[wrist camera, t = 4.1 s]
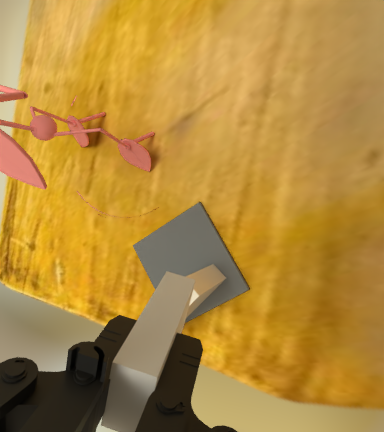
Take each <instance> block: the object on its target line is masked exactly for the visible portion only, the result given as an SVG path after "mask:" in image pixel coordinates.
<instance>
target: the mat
mask: <svg viewBox="0 0 384 432" xmlns="http://www.w3.org/2000/svg"><path fill="white" fill-rule="evenodd" d="M133 247H134V249H135V251H136V253H137V255H138V257H139V259H140V261H141V263H142V264H143V266H144V268H145V270H146V272H147V274H148V276H149V278H150V280H151V282H152V284H153V286H154V288H155V290H156V288H157V287H158V285H159V283H160V282H161V280H162V278H163V277H164V275H165V273H166V271H168V272H171V273H174V274H178V275H181V276H185V277H186V276H188V275H190V274H192V273H195V272H197V271H199V270H201V269H203V268H206V267H208V266H210V265H212V264H214V265H215V266H216V267H217V268H218V269H219V270H220V272H221V273H222V274H223V275H224V276H225V277H226V279H225V280H224V281H223V282H222V283H221V284H220V285H219V286H218V287H217V288H216V289H215V290H214V291H213V292H212V293H211V294H210V295H209V296H208V297H207V298H206V299H205V300H204V301H203V302H202V303H201V304H200V305H199V306H198V307H197V308H196V309H195V310H194V311H193V312H192V313H191V314H190V315H189V316H188V317H187V318H186V320H185V323H186V322H188V321H190V320H192V319H193V318H195V317H197V316H199V315H201V314H203V313H205V312H207V311H209V310H211V309H213V308H215V307H217V306H219V305H220V304H222V303H224V302H226V301H228V300H230V299H232V298H234V297H236V296H238V295H240V294H242V293H244V292H245V291H247V290H249V289H250V288H249V286H248V285H247V283H246V281H245V279H244V278H243V276H242V274H241V272H240V270H239V269H238V267H237V265H236V263H235V262H234V260H233V258H232V256H231V255H230V253H229V251H228V249H227V248H226V246H225V244H224V242H223V240H222V239H221V237H220V235H219V233H218V232H217V230H216V228H215V226H214V225H213V223H212V221H211V219H210V218H209V216H208V214H207V212H206V210H205V209H204V207H203V205H202V203H201V202H199V203H197V204H196V205H194V206H193V207H191V208H190V209H188V210H187V211H185V212H183V213H182V214H180V215H179V216H177V217H176V218H174V219H173V220H171V221H170V222H168V223H167V224H165V225H164V226H162V227H161V228H159V229H158V230H156V231H154V232H153V233H151V234H150V235H148V236H147V237H145V238H144V239H142V240H141V241H139V242H138V243H136V244H135V245H133Z"/></svg>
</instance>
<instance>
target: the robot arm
mask: <svg viewBox="0 0 384 432" xmlns="http://www.w3.org/2000/svg"><path fill="white" fill-rule="evenodd" d="M195 281H196V280H195V279H191V278H188V277H185V276H181V275H178V274H174V273H171V272H168V271H166V273H165V275H164V277H163V278H162V280H161V282H160V283H159V285H158V287H157V288H156V290H155V292H154V293H153V295H152V297H151V298H150V300H149V302H148V303H147V305H146V307H145V308H144V310H143V312H142V313H141V315H140V317H139V318H138V320H134V319H130V318H127V317H124V316H121V315H119V316H117V317H115V318H113V319H112V320H110V321H109V322H108V324H107V325H106V326H105V328H104V330H103V331H102V332H101V333H100V335H99V337H97V339H96V340H95V342H80V343H78V344H75V345H73V346H72V347H71V348H70V349H69V350H68V357H67V366H66V370H65V371H61V372H42V371H38V367H37V365H36V364H35V363H34V362H33V361H32V360H29V359H27V358H18V357H17V358H12V359H8V360H6V361H4V362H2V363H0V432H96V427H97V425H98V424H99V422H100V420H101V418H102V423H101V425H102V426H105V427H107V428H110V429H113V430H115V431H118V432H237V431H236V430H234V429H233V428H230V427H227V426H215V427H213V428H212V429H211V428H209V427H208V426H207V425H205V424H204V423H203V422H202V421H200V420H199V419H198V418H197V416H196V415H195V414H194V412H193V409H192V406H191V396H192V392H193V388H194V384H195V380H196V376H197V372H198V368H199V364H200V360H201V356H202V352H203V348H202V345H201V341H200V340H199V339H196V338H193V337H190V336H187V335H183V334H181V333H182V330H183V327H184V324H185V320H186V316H187V312H188V308H189V304H190V300H191V297H192V293H193V289H194V285H195ZM102 416H103V417H102Z"/></svg>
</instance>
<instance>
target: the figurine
mask: <svg viewBox="0 0 384 432" xmlns="http://www.w3.org/2000/svg"><path fill="white" fill-rule="evenodd" d="M0 92H4V93H5V94H0V102H4V101H10V100H17V99H23V98H24V99H25V98H27V97H28V94H26V93H25V92H23V91H19V90H16V89H12V88H9V87H6V86H2V85H0ZM76 97H77V96H76ZM76 97H75V99H76ZM75 99H74V100H75ZM73 102H74V101H73ZM72 104H73V103H72ZM71 106H72V105H71ZM30 110H31V113H32V116H33V119H32V121H31V123H30V126H25V125H21V124H17V123H13V122H8V121H4V120H0V125H4V126H9V127H14V128H20V129H25V130H31V132H32V134H33V135H34V136H35V137H36V138H38V139H40V140H45V141H46V140H50V139H52V138H53V137H54V136H62V135H71V134H73V136H74V137H75V139H76V140H77V142H78V143H79V144H80V146H81V147H85V146H87V145H88V144H89V138H88V135H87V133H89V132H98V131H100V132H102V133H103V134H105V135H107V136H108V137H110V138H111V139H113V140H115V141H116V142H118V143H119V144H118V148H119V151H120V153H121V155H122V156H123V158H124V159H125V160H126V161H128V162H129V163H131V164H132V165H134V166H136V167H139V168H141V169H143V170H146V171H149V172H150V168H151V157H150V154H149V152H148V151H147V150H146V149H145V148H144V147H143V146H141V145H140V144H138V142H140V141H142V140H144V139H147V138H149V137H151V136H153V135H154V132H150V133H148V134H146V135H143V136H141V137H139V138H137V139H134V140H130V139H125V138H124V140H122V139H121V140H118V139H117V138H115V137H114V136H112V135H111V134H109V133H108V132H107V131H105V130H104V129H101V128H96V129H86V130H85V129H84V127H83V125H82V124H81V123H84V122H87V121H90V120H93V119H96V118H99V117H102V116H105V112H102V113H99V114H96V115H93V116H89V117H86V118H83V119H80V120H77V119H75V117H74V116H68V119H67V120H65V119H63V118H60V117H58V116H55V115H53V114H50V113H47V112H45V111H42V110H40V109H37V108H35V107H30ZM34 111H36V112H39V113H42V114H45V115H39V116H35V112H34ZM46 115H47V116H46ZM49 116H50V117H49ZM51 117H53V118H55V119H58V120H61V121H64V122H66V123H68V127H69V129H70V131H67V132H57V125H56V123H55V121H54V120H53V119H52V118H51ZM0 171H1V172H2V173H4V174H6V175H7V176H10V177H12V178H15V179H17V180H20V181H22V182H25V183H27V184H30V185H32V186H35V187H38V188H41V189H46V187H47V185H46V183H45V180H44V178H43V176H42V174H41V173H40V171H39V169H38V168H37V166H36V164H35V163H34V161H33V159H32V158H31V157H30V156H29V155H28V154H27V153H26V151H25V150H24V149H23V148H22V147H21V146H20V145H19V144H18V143H17V142H16V141H15V140H14V139H13V138H12V137H10V136H9V135H8V134H6V133H5V132H4V131H2V130H1V129H0ZM77 192H78V191H77ZM79 195H80V194H79ZM80 196H81V195H80ZM81 197H82V196H81ZM88 204H89V203H88ZM89 205H90V204H89ZM90 206H91V205H90ZM93 208H94V207H93ZM158 208H159V207H158ZM156 209H157V208H156ZM96 210H97V209H96ZM154 210H155V209H154ZM99 212H100V211H99ZM104 214H105V213H104ZM146 214H147V213H146ZM98 215H99V214H98ZM143 215H144V214H143ZM140 216H141V215H140ZM114 217H115V216H114ZM105 218H106V217H105ZM122 218H124V217H122ZM129 218H130V217H129Z"/></svg>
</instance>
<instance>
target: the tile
mask: <svg viewBox="0 0 384 432" xmlns="http://www.w3.org/2000/svg"><path fill="white" fill-rule="evenodd" d="M186 277H188V278H191V279H195V280H196V281H195V285H194V289H193V293H192V297H191V300H190V304H189V308H188V312H187V316H186V318H187V317H188V316H189V315H190V314H191V313H192V312H193V311H194V310H195V309H196V308H197V307H198V306H199V305H200V304H201V303H202V302H203V301H204V300H205V299H206V298H207V297H208V296H209V295H210V294H211V293H212V292H213V291H214V290H215V289H216V288H217V287H218V286H219V285H220V284H221V283H222V282H223V281H224V280H225V279H226V277H225V276H224V275H223V274H222V273H221V272H220V270H219V269H218V268H217V267H216V266H215V265H214V264H212V265H210V266H208V267H206V268H203V269H201V270H199V271H197V272H195V273H192V274H190V275H188V276H186Z"/></svg>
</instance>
